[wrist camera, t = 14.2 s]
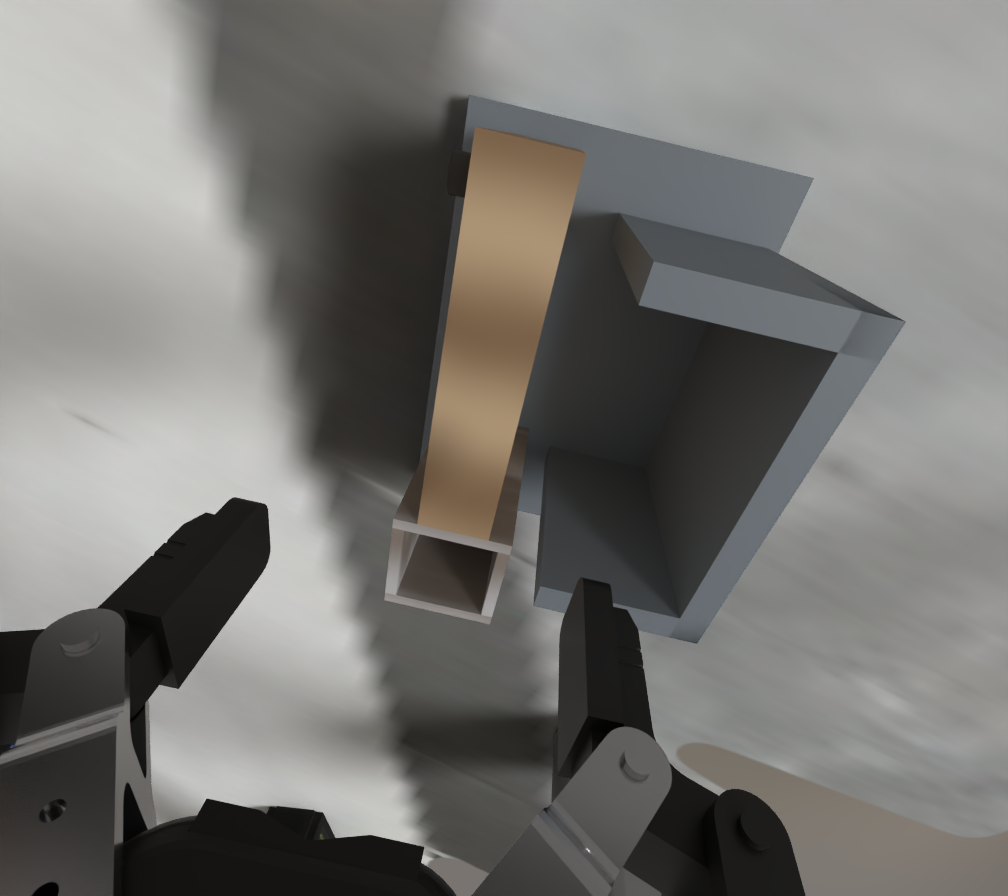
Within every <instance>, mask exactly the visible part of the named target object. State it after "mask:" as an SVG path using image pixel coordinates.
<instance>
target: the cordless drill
mask: <svg viewBox="0 0 1008 896" xmlns="http://www.w3.org/2000/svg"><path fill="white" fill-rule="evenodd" d="M267 815H268V816H270V817H272V818H273V819H275V820H276V821H278V822H280V823H281V824H283V825H285V826H286V827H288V828H289V829H291V830H293V831H294V832H296V833H297V834H299V835H301V836H302V837H304V838H306V839H309V840H322V839H333V838H335V836H334V834H333V832H332V830H331V828H330V826H329V824H328V822H327V820H326V818H325V816H324V814H323V813H319V812H315V811H314V810H305V809H296V808H287V807H278V806H277V808H274V807H270V808H269V810H268V812H267Z"/></svg>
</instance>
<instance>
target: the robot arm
mask: <svg viewBox="0 0 1008 896" xmlns="http://www.w3.org/2000/svg"><path fill="white" fill-rule="evenodd" d="M269 555H270V534H269V518H268V508H267V506H266V505H265V504H262V503H258V502H254V501H249V500H245V499H240V498H236V497H235V498H232V499H230V500H229V501H228V502H227V503H226V504H225V505H224V506H223V507H222V508H221V509H220V510H219V511H218V512H217V513H216V514H215V515H214V514H210V513H204V514H202V515H200V516H199V517H197V518H195V519H193V520H191V521H189V522H187V523H185V524H183V525H182V526H181V527H180V528H179V529H178V530H177V531H176V532H175V533H174V534H173V535H172V536H171V537H170V538H169V539H168V541H167V543H164V544H163V545H162V546H161V547H160V548H159V549H158V550H157V551H156V552H155V554H154V556H151V557H150V558H149V559H148V560H146V561H145V562H144V563H143V564H142V565H141V566H140V567H139V568H138V569H137V570H136V571H135V572H134V573H133V574H132V575H131V576H130V577H129V578H128V579H127V580H126V581H125V582H124V583H123V584H122V585H121V586H120V587H119V588H118V589H117V590H116V591H115V592H114V593H113V594H112V595H111V596H110V597H109V598H107V599H106V600H105V601H104V602H103V603H102V604H101V605H100V606H99V607H98V608H95V609H87V610H82V611H78V612H74V613H72V614H69V615H67V616H65V617H63V618H61V619H59V620H57V621H56V622H54V623H52V624H51V625H50V626H48V627H47V628H46V629H41V630H26V631H9V632H0V896H456V894H455V893H454V891H453V890H452V889H451V888H450V887H449V885H448V884H447V883H446V882H445V881H444V880H443V879H442V878H441V877H440V876H439V875H437V874H436V873H435V872H434V871H433V870H432V869H430V868H428V867H427V866H425V865H424V864H422V863H421V860H422V855H423V851H424V847H422V846H418V845H413V844H409V843H404V842H400V841H395V840H391V839H386V838H382V837H377V836H373V835H367V836H356V837H344V838H333V839H322V840H309V839H306V838H304V837H302V836H301V835H299V834H297V833H296V832H294V831H293V830H291V829H289V828H288V827H286V826H285V825H283V824H281V823H280V822H278V821H276V820H275V819H273V818H272V817H270V816H268V815H267V814H265V813H264V812H262V811H260V810H256V809H251V808H247V807H242V806H238V805H234V804H229V803H225V802H220V801H216V800H211V799H206V801H205V803H204V804H203V806H202V808H201V810H200V811H199V813H198V815H197V816H189V817H185V818H180V819H176V820H172V821H169V822H166V823H163V824H160V825H158V826H157V824H156V814H155V807H154V802H153V796H152V786H151V756H150V721H149V702H148V699H149V698H150V696H151V695H152V694H153V692H154V691H155V690H156V688H157V687H158V686H159V685H163V686H168V687H172V688H177V689H179V687H180V686H181V685H182V683H183V682H184V680H185V679H186V678H187V676H188V675H189V674H190V672H191V671H192V669H193V668H194V667H195V665H196V664H197V662H198V661H199V660H200V658H201V657H202V656H203V654H204V653H205V651H206V650H207V649H208V647H209V646H210V645H211V643H212V642H213V640H214V639H215V638H216V636H217V635H218V633H219V632H220V631H221V629H222V628H223V627H224V625H225V624H226V622H227V621H228V620H229V618H230V617H231V615H232V614H233V613H234V611H235V610H236V609H237V607H238V606H239V604H240V603H241V602H242V600H243V599H244V597H245V596H246V595H247V593H248V592H249V591H250V589H251V588H252V586H253V585H254V584H255V582H256V581H257V580H258V578H259V577H260V575H261V574H262V572H263V571H264V569H265V567H266V565H267V562H268V559H269ZM640 649H641V647H640V640H639V633H638V628H637V626H636V624H635V623H634V621H633V619H632V617H631V616H630V614H629V612H628V610H626V609H622V608H618V607H613V600H612V590H611V586H610V584H609V583H604V582H600V581H595V580H591V579H587V578H582V577H580V578H579V580H578V582H577V585H576V587H575V590H574V592H573V595H572V597H571V600H570V602H569V605H568V608H567V610H566V613H565V615H564V618H563V622H562V626H561V632H560V644H559V700H558V730H557V731H556V733H555V735H554V742H553V773H552V802H551V804H550V806H549V807H547V808H544V809H543V810H542V811H541V812H540V813H539V814H538V815H537V816H536V818H535V819H534V820H533V821H532V822H531V824H530V825H529V826H528V827H527V828H526V830H525V831H524V832H523V833H522V835H521V836H520V837H519V838H518V839H517V841H516V842H515V843H514V844H513V846H512V847H511V848H510V849H509V850H508V852H507V853H506V854H505V855H504V856H503V858H502V859H501V860H500V861H499V863H498V864H497V865H496V866H495V867H494V869H493V870H492V871H491V872H490V874H489V875H488V876H487V877H486V879H485V880H484V881H483V882H482V883H481V885H480V886H479V887H478V888H477V889H476V891H475V892H474V893H473V894H472V896H805V892H804V889H803V885H802V881H801V878H800V874H799V871H798V867H797V863H796V860H795V856H794V852H793V849H792V845H791V842H790V839H789V836H788V833H787V831H786V829H785V827H784V826H783V824H782V822H781V820H780V819H779V818H778V816H777V815H776V814H775V813H774V811H773V810H772V809H771V808H770V807H769V806H768V805H767V804H766V803H765V802H764V801H762V800H761V799H760V798H758V797H757V796H755V795H753V794H751V793H749V792H747V791H744V790H739V789H731V790H727V791H725V792H723V793H722V794H721V795H720V796H718V795H716V794H715V793H713V792H711V791H710V790H708V789H706V788H704V787H703V786H701V785H699V784H698V783H696V782H694V781H692V780H691V779H689V778H687V777H686V776H684V775H683V774H681V773H680V772H679V771H678V770H676V769H675V768H674V767H673V766H672V765H671V764H670V763H669V761H668V759H667V756H666V755H665V753H664V751H663V749H662V748H661V747H660V746H659V744H658V743H657V742H656V740H655V737H654V734H653V729H652V722H651V715H650V709H649V702H648V695H647V688H646V681H645V674H644V669H643V660H642V653H641V652H640ZM15 743H16V744H15ZM12 744H15V746H14V747H12V748H10V746H11V745H12Z"/></svg>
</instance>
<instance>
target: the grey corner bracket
mask: <svg viewBox="0 0 1008 896" xmlns="http://www.w3.org/2000/svg"><path fill="white" fill-rule="evenodd" d="M475 127H480V128H486V129H492V130H497V131H503V132H509V133H514V134H518V135H522V136H527V137H531V138H535V139H539V140H543V141H547V142H551V143H556V144H560V145H564V146H568V147H572V148H576V149H580V150H582V151H583V152H585V153H586V157H585V160H584V164H583V168H582V172H581V176H580V180H579V184H578V188H577V192H576V196H575V200H574V204H573V208H572V212H571V216H570V220H569V224H568V228H567V232H566V236H565V240H564V244H563V248H562V252H561V256H560V260H559V264H558V268H557V271H556V275H555V279H554V283H553V287H552V291H551V295H550V299H549V303H548V307H547V311H546V315H545V319H544V323H543V327H542V331H541V335H540V339H539V343H538V347H537V351H536V355H535V359H534V363H533V367H532V371H531V375H530V379H529V382H528V386H527V390H526V394H525V398H524V402H523V406H522V410H521V414H520V418H519V422H518V426H520V427H524V428H529V433H528V440H527V447H526V454H525V461H524V468H523V475H522V482H521V489H520V496H519V503H518V510H519V511H523V512H528V513H532V514H536V515H541V517H540V530H539V542H538V555H537V568H536V580H535V593H534V606H536V607H540V608H545V609H549V610H553V611H558V612H562V613H566V610H567V608H568V605H569V602H570V600H571V597H572V595H573V592H574V590H575V587H576V585H577V582H578V580H579V578H580V577H582V578H587V579H591V580H595V581H600V582H604V583H609V584H610V586H611V590H612V600H613V607H618V608H622V609H626V610H628V612H629V614H630V616H631V617H632V619H633V621H634V623H635V624H636V626H637V628H638V630H640V631H644V632H649V633H653V634H657V635H662V636H666V637H670V638H675V639H679V640H683V641H687V642H692V643H696V644H697V643H698V641H699V640H700V638H701V637H702V635H703V633H704V632H705V630H706V629H707V627H708V626H709V624H710V623H711V621H712V620H713V618H714V617H715V615H716V613H717V612H718V610H719V609H720V607H721V606H722V604H723V603H724V601H725V600H726V598H727V597H728V595H729V593H730V592H731V590H732V589H733V587H734V586H735V584H736V583H737V581H738V580H739V578H740V577H741V575H742V573H743V572H744V570H745V569H746V567H747V566H748V564H749V563H750V561H751V560H752V558H753V557H754V555H755V553H756V552H757V550H758V549H759V547H760V546H761V544H762V543H763V541H764V540H765V538H766V536H767V535H768V533H769V532H770V530H771V529H772V527H773V526H774V524H775V523H776V521H777V520H778V518H779V516H780V515H781V513H782V512H783V510H784V509H785V507H786V506H787V504H788V503H789V501H790V500H791V498H792V496H793V495H794V493H795V492H796V490H797V489H798V487H799V486H800V484H801V483H802V481H803V480H804V478H805V476H806V475H807V473H808V472H809V470H810V469H811V467H812V466H813V464H814V463H815V461H816V460H817V458H818V456H819V455H820V453H821V452H822V450H823V449H824V447H825V446H826V444H827V443H828V441H829V440H830V438H831V436H832V435H833V433H834V432H835V430H836V429H837V427H838V426H839V424H840V423H841V421H842V420H843V418H844V416H845V415H846V413H847V412H848V410H849V409H850V407H851V406H852V404H853V403H854V401H855V399H856V398H857V396H858V395H859V393H860V392H861V390H862V389H863V387H864V386H865V384H866V383H867V381H868V379H869V378H870V376H871V375H872V373H873V372H874V370H875V369H876V367H877V366H878V364H879V363H880V361H881V359H882V358H883V356H884V355H885V353H886V352H887V350H888V349H889V347H890V346H891V344H892V343H893V341H894V339H895V338H896V336H897V335H898V333H899V332H900V330H901V329H902V327H903V326H904V324H905V323H906V322H905V321H903V320H902V319H900V318H898V317H896V316H894V315H892V314H890V313H888V312H887V311H885V310H883V309H881V308H879V307H877V306H875V305H873V304H872V303H870V302H868V301H866V300H864V299H862V298H860V297H858V296H857V295H855V294H853V293H851V292H849V291H847V290H845V289H843V288H842V287H840V286H838V285H836V284H834V283H832V282H830V281H828V280H826V279H825V278H823V277H821V276H819V275H817V274H815V273H813V272H811V271H810V270H808V269H806V268H804V267H802V266H800V265H798V264H796V263H795V262H793V261H791V260H789V259H787V258H785V257H783V256H781V255H780V254H778V253H779V251H780V249H781V247H782V245H783V242H784V240H785V238H786V236H787V234H788V232H789V230H790V228H791V226H792V223H793V221H794V219H795V217H796V215H797V213H798V211H799V209H800V207H801V204H802V202H803V200H804V198H805V196H806V194H807V192H808V190H809V188H810V185H811V183H812V181H813V179H814V178H811V177H807V176H803V175H798V174H794V173H790V172H786V171H782V170H778V169H774V168H769V167H765V166H761V165H757V164H753V163H749V162H745V161H741V160H736V159H732V158H728V157H724V156H720V155H716V154H712V153H708V152H703V151H699V150H695V149H691V148H687V147H683V146H679V145H674V144H670V143H666V142H662V141H658V140H654V139H650V138H646V137H641V136H637V135H633V134H629V133H625V132H621V131H617V130H613V129H608V128H604V127H600V126H596V125H592V124H588V123H584V122H579V121H575V120H571V119H567V118H563V117H559V116H555V115H551V114H546V113H542V112H538V111H534V110H530V109H526V108H522V107H518V106H513V105H509V104H505V103H501V102H497V101H493V100H489V99H484V98H480V97H476V96H472V95H469V101H468V108H467V116H466V123H465V130H464V138H463V145H462V151H466V152H470V153H471V152H472V145H473V138H474V131H475ZM464 200H465V198H462V197H458V196H456V197H455V204H454V211H453V219H452V226H451V233H450V241H449V248H448V255H447V263H446V270H445V277H444V285H443V292H442V299H441V307H440V314H439V321H438V329H437V336H436V343H435V351H434V358H433V365H432V373H431V380H430V388H429V395H428V402H427V410H426V417H425V424H424V432H423V439H422V446H421V454H420V461H421V459H422V457H423V455H424V453H425V450H426V448H427V446H428V444H429V440H430V433H431V426H432V419H433V413H434V406H435V399H436V392H437V385H438V378H439V371H440V365H441V358H442V351H443V344H444V337H445V330H446V323H447V316H448V310H449V303H450V296H451V289H452V282H453V275H454V268H455V262H456V255H457V248H458V241H459V234H460V227H461V220H462V213H463V207H464ZM420 461H419V463H420Z"/></svg>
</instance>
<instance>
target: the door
mask: <svg viewBox="0 0 1008 896" xmlns="http://www.w3.org/2000/svg"><path fill="white" fill-rule="evenodd" d="M585 157H586V153H585V152H583V151H582V150H580V149H576V148H572V147H568V146H564V145H560V144H556V143H551V142H547V141H543V140H539V139H535V138H531V137H527V136H522V135H518V134H514V133H509V132H503V131H497V130H492V129H486V128H480V127H475V131H474V138H473V145H472V152H471V153H470V152H466V151H461V150H457V149H455V150H454V152H453V154H452V157H451V161H450V166H449V172H448V184H447V188H448V194H450V195H454V196H458V197H462V198H465V200H464V207H463V213H462V220H461V227H460V234H459V241H458V248H457V255H456V262H455V268H454V275H453V282H452V289H451V296H450V303H449V310H448V316H447V323H446V330H445V337H444V344H443V351H442V358H441V365H440V371H439V378H438V385H437V392H436V399H435V406H434V413H433V419H432V426H431V433H430V440H429V444H428V446H427V448H426V450H425V453H424V455H423V457H422V459H421V461H420V463H419V465H418V467H417V470H416V472H415V474H414V476H413V478H412V480H411V482H410V485H409V487H408V489H407V491H406V493H405V495H404V497H403V499H402V502H401V504H400V506H399V508H398V510H397V512H396V514H395V516H394V519H393V527H392V536H391V545H390V554H389V563H388V572H387V581H386V590H385V599H384V600H387V601H391V602H395V603H400V604H404V605H408V606H413V607H417V608H421V609H426V610H430V611H434V612H439V613H443V614H447V615H452V616H456V617H460V618H465V619H469V620H473V621H478V622H482V623H486V624H490V622H491V618H492V615H493V611H494V608H495V604H496V601H497V597H498V594H499V591H500V587H501V584H502V580H503V577H504V573H505V570H506V566H507V563H508V559H509V556H510V552H511V549H512V545H513V538H514V531H515V524H516V517H517V510H518V503H519V496H520V489H521V482H522V475H523V468H524V461H525V454H526V447H527V440H528V433H529V428H524V427H520V426H518V422H519V418H520V414H521V410H522V406H523V402H524V398H525V394H526V390H527V386H528V382H529V379H530V375H531V371H532V367H533V363H534V359H535V355H536V351H537V347H538V343H539V339H540V335H541V331H542V327H543V323H544V319H545V315H546V311H547V307H548V303H549V299H550V295H551V291H552V287H553V283H554V279H555V275H556V271H557V268H558V264H559V260H560V256H561V252H562V248H563V244H564V240H565V236H566V232H567V228H568V224H569V220H570V216H571V212H572V208H573V204H574V200H575V196H576V192H577V188H578V184H579V180H580V176H581V172H582V168H583V164H584V160H585Z"/></svg>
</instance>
